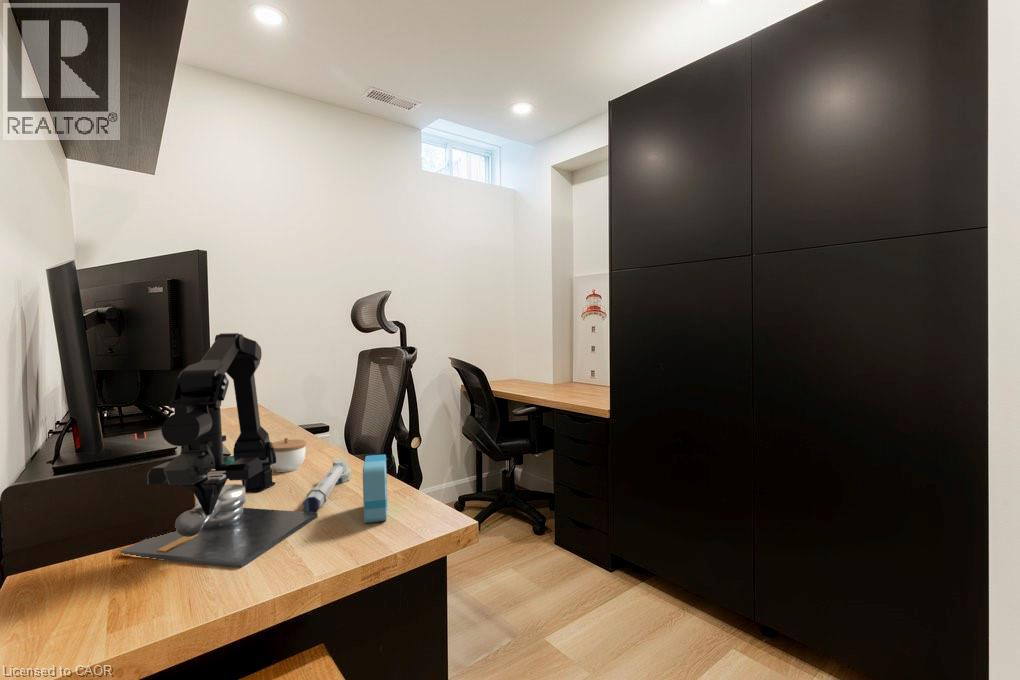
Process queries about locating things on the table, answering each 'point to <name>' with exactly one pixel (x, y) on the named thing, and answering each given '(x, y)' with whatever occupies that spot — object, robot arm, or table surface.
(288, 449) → the lidded jar
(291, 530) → the cutting board
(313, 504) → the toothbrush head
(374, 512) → the data package
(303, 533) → the table surface
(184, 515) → the dryer elbow
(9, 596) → the table surface
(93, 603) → the table surface
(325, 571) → the table surface
